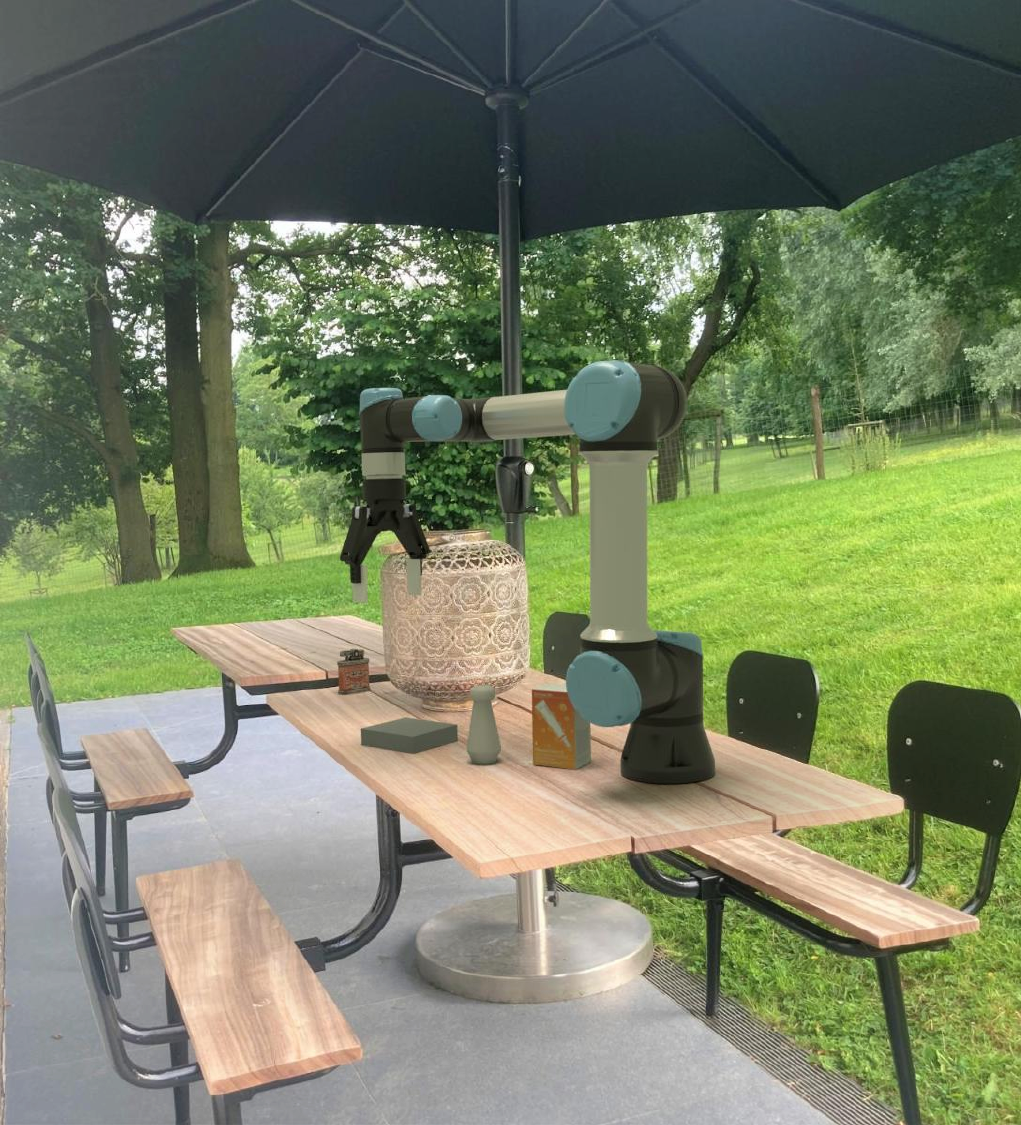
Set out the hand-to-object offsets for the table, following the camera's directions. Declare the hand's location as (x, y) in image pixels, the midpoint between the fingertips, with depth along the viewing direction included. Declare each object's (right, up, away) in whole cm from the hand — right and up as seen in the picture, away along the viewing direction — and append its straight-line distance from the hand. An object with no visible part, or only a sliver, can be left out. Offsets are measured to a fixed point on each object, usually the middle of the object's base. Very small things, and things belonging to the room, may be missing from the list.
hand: (388, 598), depth 208 cm
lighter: (-14, -24, +63) cm, 69 cm away
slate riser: (+3, -27, +9) cm, 28 cm away
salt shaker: (+17, -28, -7) cm, 33 cm away
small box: (+30, -28, -10) cm, 42 cm away
